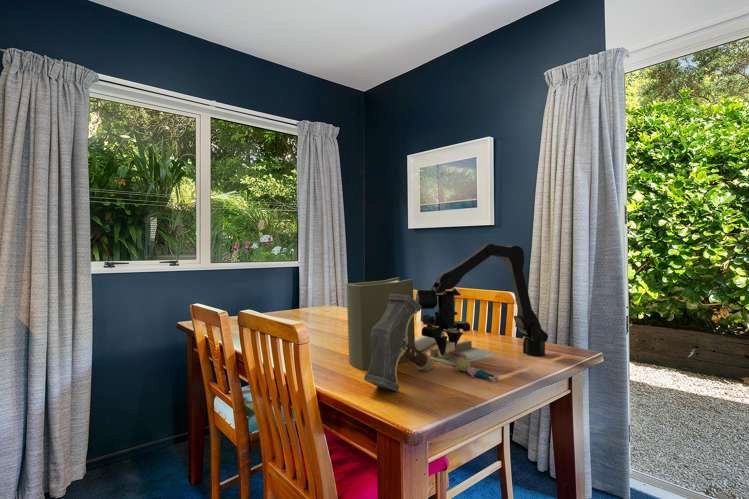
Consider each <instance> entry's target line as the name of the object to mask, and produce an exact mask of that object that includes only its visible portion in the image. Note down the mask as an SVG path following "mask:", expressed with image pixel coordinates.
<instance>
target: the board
mask: <svg viewBox="0 0 749 499" xmlns="http://www.w3.org/2000/svg"><path fill="white" fill-rule="evenodd" d="M472 343H473V342H472V340H465V341H458V342H457V344H456V346H455V352H457V353H461V354H465V355H466V359H467V360H468V361H469V362H470V363H472V362H475V361H479V360H483V359H486V358H490V357H495V356H497V355H499V353H498V352H494V351H489V350H486V349H481V348H476V347H473V345H472ZM429 352H430V353H429V354H430V355H428V356H429V357H430V358H431V359H432V361H434V362H436V363H440V364H443V365H446V366H450V367H454V368H456V365H455V363H456V361H457V360H456V358H455V357H453V358H449V359H445V358H441V357H438V346H437V347H433V348H430V351H429Z"/></svg>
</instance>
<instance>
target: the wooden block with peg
mask: <svg viewBox="0 0 749 499" xmlns="http://www.w3.org/2000/svg"><path fill="white" fill-rule="evenodd" d="M460 356H462V357H463V358H464V359H466V355H465V354H461V353H457V352H455V342H451V341H448V340H447V342H446V348H445V352H444V355H441V354H440V351H439V348H438V357H441V358H445V359H449V358H453V357H455V358H456V357H458V358H459V357H460Z"/></svg>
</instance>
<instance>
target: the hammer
mask: <svg viewBox="0 0 749 499" xmlns="http://www.w3.org/2000/svg"><path fill="white" fill-rule="evenodd" d="M421 307H422V306H421V305H419V304H418V303H417V302H416V301H415V299H414V297H413V298H412V297H411V296H408V295H399V294H390V295H389V304H388V307H387V309H386V311H385V313H384V315H383V316H382V318H381V319H380V321H379V322H378V323H377V324H376V325H375V326H374V327H373V328H372V332H371V342H372V352H371V361H370V366H369V369H367V373H365V375H364V376H363V380H364V381H365V382H367V383H369V384H371V385H373V386H375V387H377V388H381V389H385V390H389V391H393V392H397V393H399V392H400V385H399V379H398V376H397V371H398V370H397V369H398V364H399V363H400V362H399V359H400V357H401V356H404V357H405V358H407V359H409V361H408V362H410V363H413V364H414V365H415V367H416V368H418V369H419V370H420V371H421V370H422V371H423V372H427V371H429V370H431V369H432V368H433V365H434V362H433V360H432V359H433V358H431V357H429V356H430V355H428V354H427V353H425V352H422V351H419V350H417V349H416V348H415V347H413V346H412V345H411V344H408V336H407V331H408V325H409V322H410V320H411V318H412V317H413V316H414V317H415V315H416V314H418V312H420V311H421V310H422V309H421Z"/></svg>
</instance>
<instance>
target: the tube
mask: <svg viewBox="0 0 749 499" xmlns="http://www.w3.org/2000/svg"><path fill="white" fill-rule="evenodd" d="M434 344H437V343H436V341H435V339H434V338H431V337H427V336H422V335H421V336H420V337H418V338H415V348H416V349H417V350H419V351H421V352H422V351H423V350H425V349H427V348H429V347H430V346H433V345H434Z"/></svg>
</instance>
